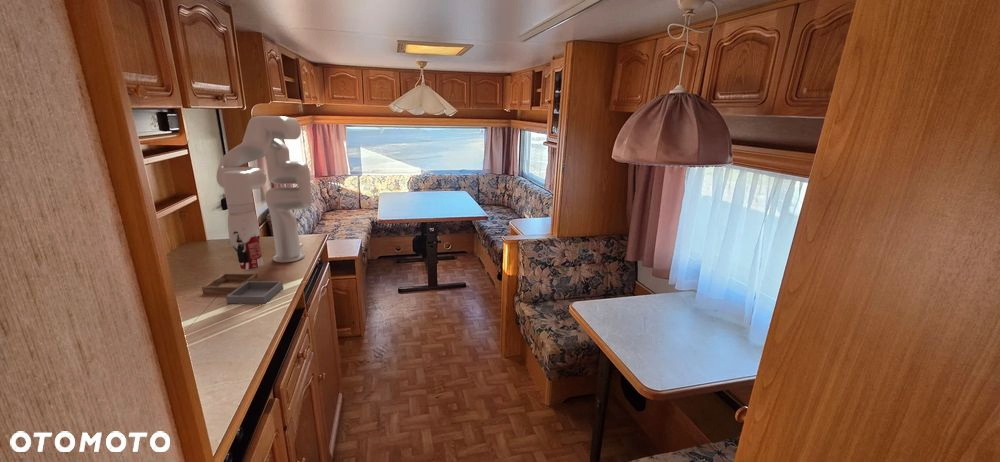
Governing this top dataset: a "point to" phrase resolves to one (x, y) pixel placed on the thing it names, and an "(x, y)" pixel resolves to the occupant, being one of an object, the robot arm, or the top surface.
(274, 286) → the grey tray
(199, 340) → the top surface
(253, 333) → the top surface
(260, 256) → the soda can
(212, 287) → the wooden tray
